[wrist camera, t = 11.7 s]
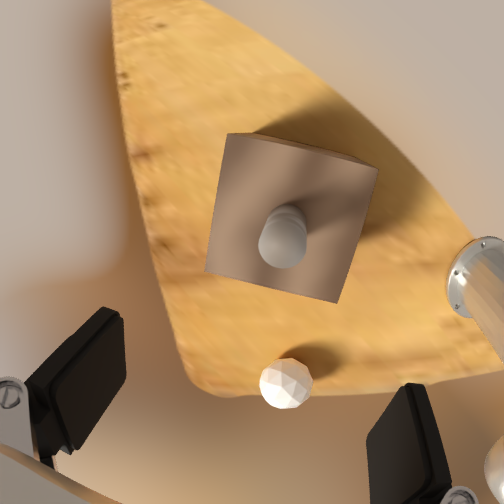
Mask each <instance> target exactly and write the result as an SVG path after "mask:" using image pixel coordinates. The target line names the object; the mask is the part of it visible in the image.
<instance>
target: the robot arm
mask: <svg viewBox="0 0 504 504" xmlns="http://www.w3.org/2000/svg"><path fill="white" fill-rule="evenodd" d="M446 295H447V299H448V301H449V303H450V305H451V307H452V308H453V310H454V311H455V312H456V313H457V314H459V315H461V316H463V317H466V318H473V319H474V321H475V322H476V323H477V325H478V326H479V328H480V329H481V331H482V332H483V334H484V335H485V336H486V338H487V339H488V341H489V342H490V344H491V345H492V347H493V348H494V350H495V351H496V353H497V354H498V356H499V358H500V359H501V361H502V362H503V364H504V241H502V240H501V239H498V238H496V237H491V236H487V237H481V238H478V239H476V240H474V241H472V242H471V243H469V244H468V245H467V246H465V247H464V248H463V249H462V250H461V251H460V253H459V254H458V255H457V256H456V258H455V259H454V261H453V263H452V265H451V267H450V269H449V272H448V276H447V280H446ZM123 324H124V322H123V318H121V317H120V314H119V313H118V312H117V311H115V310H112V309H109V308H106V307H101V308H100V309H99V310H98V311H97V312H96V313H95V314H94V315H92V316H91V317H90V319H88V320H87V321H86V322H85V323H84V324H83V325H82V326H81V327H80V328H79V329H78V330H77V331H76V332H75V333H74V334H73V335H71V336H70V337H69V338H68V339H66V340H65V341H64V342H63V343H62V344H61V345H60V346H59V347H58V348H57V349H56V350H55V351H54V352H53V353H52V354H51V355H50V356H49V357H48V358H47V359H46V360H45V361H44V362H43V364H41V366H40V367H39V368H38V369H37V370H36V371H35V372H34V373H33V374H32V375H31V376H30V377H29V378H28V379H27V380H26V381H25V382H24V383H23V382H22V381H21V380H19V379H17V378H14V377H2V378H0V504H122V503H119V502H117V501H114V500H112V499H110V498H108V497H106V496H104V495H101V494H99V493H97V492H95V491H93V490H91V489H89V488H87V487H85V486H83V485H81V484H79V483H77V482H75V481H73V480H71V479H70V478H68V477H66V476H64V475H62V474H61V473H59V472H58V468H57V464H56V459H55V455H56V454H57V452H58V451H59V450H62V451H64V452H65V453H67V454H69V455H71V454H72V452H73V451H74V449H75V450H79V449H80V448H81V446H82V445H83V444H84V442H85V440H86V439H87V437H88V436H89V434H90V433H91V431H92V430H93V428H94V427H95V425H96V424H97V422H98V421H99V419H100V418H101V416H102V415H103V413H104V412H105V410H106V409H107V407H108V406H109V404H110V403H111V401H112V400H113V398H114V397H115V395H116V394H117V392H118V391H119V390H120V388H121V387H122V385H123V384H124V382H125V379H126V362H125V345H124V325H123ZM366 447H367V459H368V471H369V486H370V504H479V503H478V499H477V497H476V495H475V494H474V492H473V491H471V490H470V489H469V488H467V487H464V486H456V487H453V488H452V485H451V483H452V480H451V475H450V471H449V467H448V463H447V459H446V455H445V452H444V448H443V444H442V441H441V437H440V434H439V430H438V427H437V424H436V420H435V417H434V414H433V410H432V407H431V404H430V401H429V398H428V395H427V392H426V389H425V387H424V385H423V384H416V383H407V384H405V386H401V387H400V388H399V390H398V391H397V393H396V394H395V396H394V397H393V399H392V401H391V402H390V403H389V405H388V406H387V408H386V409H385V411H384V412H383V414H382V415H381V417H380V418H379V420H378V421H377V422H376V424H375V425H374V427H373V428H372V429H371V431H370V432H369V434H368V436H367V440H366ZM484 469H485V477H486V480H487V483H488V486H489V488H490V490H491V491H492V493H493V495H494V496H495V498H496V499H497V500H498V502H499V503H500V504H504V435H503V436H502V437H501V438H500V439H499V440H498V441H497V442H496V443H495V444H494V446H493V447H492V448H491V450H490V451H489V453H488V455H487V458H486V461H485V468H484Z"/></svg>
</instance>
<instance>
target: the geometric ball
mask: <svg viewBox="0 0 504 504" xmlns="http://www.w3.org/2000/svg"><path fill="white" fill-rule="evenodd" d="M312 384H313V380H312V377H311V375H310V373H309V370H308V368H307V366H305V365H304V364H302V363H300V362H298V361H297V360H295V359H293V358H287V359H276V360H275V361H273V362H272V363H271V364H270V365H269V366H267V367H266V368H265V369H264V370H263V372H262V375H261V378H260V385H259V386H260V389H261V393H262V395H263V397H264V398H265V400H266V401H267V402H268V403H269V404H270V405H272V406H274V407H277V408H279V409H282V408H296V407H297V406H299V405H300V404H301V403H302V402H304V401H305V400H306V399H307V398H309V396H310V392H311V388H312Z"/></svg>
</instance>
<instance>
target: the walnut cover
mask: <svg viewBox="0 0 504 504" xmlns="http://www.w3.org/2000/svg"><path fill="white" fill-rule="evenodd" d="M378 171H379V169H377V168H375V167H373V166H371V165H369V164H367V163H365V162H363V161H361V160H359V159H358V158H356V157H353V156H349V155H345V154H342V153H338V152H334V151H330V150H327V149H323V148H319V147H315V146H311V145H306V144H302V143H298V142H294V141H289V140H285V139H280V138H275V137H271V136H266V135H261V134H256V133H229V134H227V138H226V143H225V149H224V154H223V160H222V165H221V171H220V177H219V183H218V188H217V194H216V200H215V206H214V212H213V219H212V225H211V231H210V238H209V244H208V251H207V258H206V264H205V271H204V272H208V273H212V274H216V275H220V276H224V277H228V278H232V279H236V280H240V281H244V282H248V283H252V284H256V285H260V286H264V287H268V288H272V289H277V290H281V291H285V292H289V293H293V294H297V295H302V296H306V297H310V298H315V299H319V300H323V301H328V302H332V303H336V304H337V303H338V300H339V297H340V294H341V291H342V289H343V286H344V283H345V280H346V277H347V274H348V271H349V268H350V265H351V262H352V259H353V256H354V253H355V250H356V247H357V244H358V241H359V237H360V234H361V231H362V228H363V224H364V221H365V218H366V214H367V211H368V207H369V204H370V200H371V197H372V193H373V190H374V186H375V182H376V178H377V175H378Z"/></svg>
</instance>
